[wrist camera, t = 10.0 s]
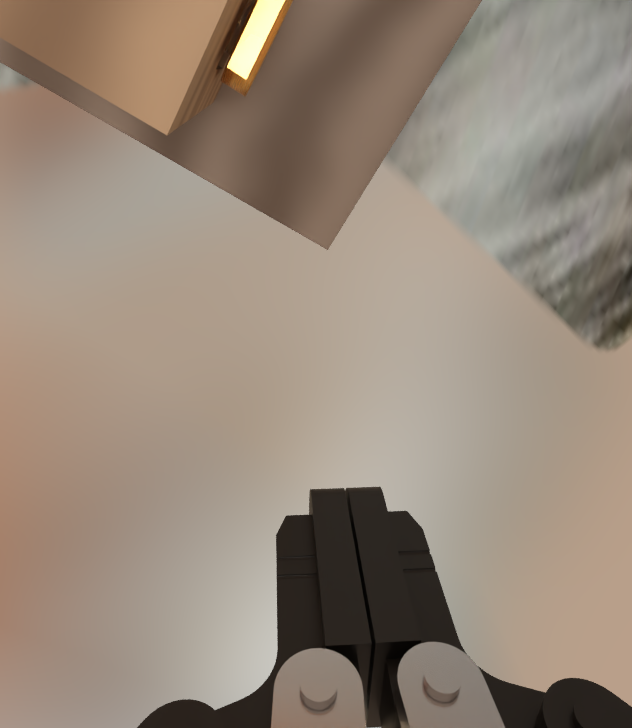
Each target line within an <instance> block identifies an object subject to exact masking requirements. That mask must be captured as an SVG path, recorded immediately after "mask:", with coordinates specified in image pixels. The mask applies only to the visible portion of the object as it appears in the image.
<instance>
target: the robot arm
mask: <svg viewBox="0 0 632 728" xmlns="http://www.w3.org/2000/svg"><path fill="white" fill-rule="evenodd" d="M309 501H310V502H309V515H293V516H292V515H291V516H286V517H285V519H284V521H283V523H282V525H281V527H280V529H279V531H278V533H277V535H276V551H277V622H278V623H277V624H278V625H277V629H278V652H277V659H276V663H275V666H274V668H273V670H272V672H271V674H270V676H269V677H268V679H267V680H266V681H265V682H264V684H263V685H262V686H261V687H259V689H257V690H256V691H255V692H253V693H252V694H250V695H249V696H247V697H245V698H243V699H241V700H239V701H237V702H234V703H232V704H229V705H227V706H225V707H222V708H220V709H217V710H214V709H213V708H212V707H210V706H208V705H207V704H205V703H203V702H200V701H196V700H178V701H173V702H171V703H168V704H165V705H164V706H162V707H160V708H158V709H157V710H155V711H154V712H152V713H151V714H150V715H149V716H148V717H147V718H146V719H145V720H144V721H143V722H142V723H141V724H140V725H139V726H138V727H137V728H366V727H381V728H632V707H631V706H629V705H628V704H627V703H625V702H624V701H623V700H621V699H620V698H619V697H617V696H616V695H615V694H613V693H612V692H610V691H609V690H607V689H606V688H604V687H602V686H600V685H598V684H596V683H594V682H591V681H588V680H584V679H579V678H567V679H562V680H560V681H557V682H556V683H554V684H552V685H551V687H549V689H548V690H547V692H546V693H545V692H541V691H537V690H533V689H530V688H526V687H522V686H518V685H515V684H511V683H508V682H505V681H502V680H499V679H497V678H495V677H493V676H491V675H489V674H488V673H486V672H485V671H483V670H482V669H481V668H480V667H478V666H477V665H476V663H475V662H474V661H473V660H472V659H471V658H470V657H469V656H468V655H467V654H466V653H465V651H464V649H463V647H462V646H461V644H460V641H459V639H458V636H457V633H456V630H455V627H454V624H453V621H452V617H451V614H450V611H449V608H448V605H447V603H446V599H445V596H444V593H443V590H442V587H441V584H440V581H439V578H438V575H437V572H436V571H435V566H434V563H433V559H432V557H431V554H430V552H429V547H428V544H427V541H426V538H425V535H424V532H423V529H422V528H421V527H420V525H419V524H418V523H417V522H416V521H415V520H414V519H413V517H412V516H411V515H410V514H409V513H408V512H407V511H394V512H388V511H387V507H386V503H385V499H384V496H383V492H382V489H381V487H362V488H346V490H344V488H340V489H339V488H338V489H312V490H310V498H309ZM365 720H366V722H365Z"/></svg>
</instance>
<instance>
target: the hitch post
mask: <svg viewBox="0 0 632 728" xmlns="http://www.w3.org/2000/svg"><path fill="white" fill-rule="evenodd" d="M247 1H248V0H0V62H1V63H3V64H5V65H6V66H8V67H10V68H12V69H13V70H15V71H17V72H19V73H20V74H22V75H24V76H26V77H27V78H29V79H31V80H33V81H34V82H36V83H38V84H40V85H41V86H43V87H45V88H47V89H48V90H50V91H52V92H54V93H56V94H57V95H59V96H60V97H62V98H64V99H66V100H68V101H69V102H71V103H73V104H75V105H76V106H78V107H80V108H81V109H83V110H85V111H87V112H88V113H90V114H92V115H94V116H95V117H97V118H99V119H101V120H102V121H104V122H106V123H108V124H109V125H111V126H113V127H115V128H116V129H118V130H120V131H121V132H123V133H125V134H127V135H128V136H130V137H132V138H134V139H135V140H137V141H139V142H141V143H142V144H144V145H146V146H148V147H149V148H151V149H153V150H155V151H156V152H158V153H160V154H162V155H163V156H165V157H167V158H169V159H170V160H172V161H174V162H176V163H177V164H179V165H181V166H182V167H184V168H186V169H188V170H189V171H191V172H193V173H195V174H197V175H198V176H200V177H202V178H203V179H205V180H207V181H209V182H210V183H212V184H214V185H216V186H217V187H219V188H221V189H223V190H224V191H226V192H228V193H230V194H231V195H233V196H235V197H237V198H238V199H240V200H242V201H243V202H245V203H247V204H249V205H251V206H252V207H254V208H256V209H257V210H259V211H261V212H263V213H264V214H266V215H268V216H270V217H271V218H273V219H275V220H277V221H278V222H280V223H282V224H284V225H286V226H287V227H289V228H291V229H292V230H294V231H296V232H298V233H299V234H301V235H303V236H304V237H306V238H308V239H310V240H312V241H313V242H315V243H317V244H319V245H320V246H322V247H324V248H325V249H327V250H328V248H329V247H330V245H331V244H332V242H333V240H334V239H335V237H336V236H337V234H338V232H339V231H340V229H341V227H342V226H343V224H344V223H345V221H346V219H347V217H348V216H349V214H350V213H351V211H352V210H353V208H354V206H355V205H356V203H357V202H358V200H359V198H360V197H361V195H362V193H363V192H364V190H365V188H366V187H367V185H368V184H369V182H370V180H371V179H372V177H373V176H374V174H375V172H376V171H377V169H378V168H379V166H380V164H381V163H382V161H383V159H384V158H385V156H386V155H387V153H388V151H389V150H390V148H391V146H392V145H393V143H394V142H395V140H396V138H397V137H398V135H399V134H400V132H401V130H402V129H403V127H404V125H405V124H406V122H407V121H408V119H409V117H410V116H411V114H412V112H413V111H414V109H415V108H416V106H417V104H418V103H419V101H420V100H421V98H422V96H423V95H424V93H425V91H426V90H427V88H428V87H429V85H430V83H431V82H432V80H433V78H434V77H435V75H436V74H437V72H438V70H439V69H440V67H441V66H442V64H443V62H444V61H445V59H446V57H447V56H448V54H449V53H450V51H451V49H452V48H453V46H454V44H455V43H456V41H457V40H458V38H459V36H460V35H461V33H462V32H463V30H464V28H465V27H466V25H467V23H468V22H469V20H470V19H471V17H472V15H473V14H474V12H475V10H476V9H477V7H478V6H479V4H480V2H481V1H482V0H293V2H292V4H291V6H290V8H289V10H288V12H287V14H286V17H285V19H284V21H283V23H282V25H281V27H280V29H279V31H278V33H277V35H276V37H275V39H274V41H273V43H272V45H271V47H270V49H269V51H268V53H267V55H266V57H265V59H264V61H263V63H262V65H261V67H260V69H259V71H258V73H257V75H256V77H255V79H254V81H253V83H252V85H251V87H250V89H249V91H248V93H247V95H246V97H245V96H243V95H242V94H240V93H239V92H237V91H235V90H234V89H232V88H231V87H229V86H228V85H226V84H224V83H223V82H221V77H222V74H223V72H224V69H225V66H226V64H227V61H228V59H229V57H230V55H229V54H227V53H226V52H224V51H225V48H226V46H227V44H228V42H229V40H230V38H231V35H232V33H233V31H234V29H235V27H236V25H237V22H238V20H239V18H240V16H241V14H242V12H243V9H244V7H245V5H246V3H247Z"/></svg>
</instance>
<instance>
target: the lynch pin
mask: <svg viewBox="0 0 632 728" xmlns="http://www.w3.org/2000/svg"><path fill="white" fill-rule="evenodd" d="M292 2H293V0H248V1H247V3H246V5H245V7H244V9H243V12H242V14H241V16H240V18H239V20H238V22H237V25H236V27H235V29H234V31H233V33H232V35H231V38H230V40H229V42H228V44H227V46H226V48H225V51H224V52H226V53H227V54H229V55H230V57H229V59H228V61H227V64H226V66H225V69H224V72H223V74H222V77H221V82H223V83H224V84H226V85H228V86H229V87H231V88H232V89H234V90H235V91H237V92H239V93H240V94H242V95H243V96H245V97H246V95H247V93H248V91H249V89H250V87H251V85H252V83H253V81H254V79H255V77H256V75H257V73H258V71H259V69H260V67H261V65H262V63H263V61H264V59H265V57H266V55H267V53H268V51H269V49H270V47H271V45H272V43H273V41H274V39H275V37H276V35H277V33H278V31H279V29H280V27H281V25H282V23H283V21H284V19H285V17H286V14H287V12H288V10H289V8H290V6H291V4H292Z"/></svg>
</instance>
